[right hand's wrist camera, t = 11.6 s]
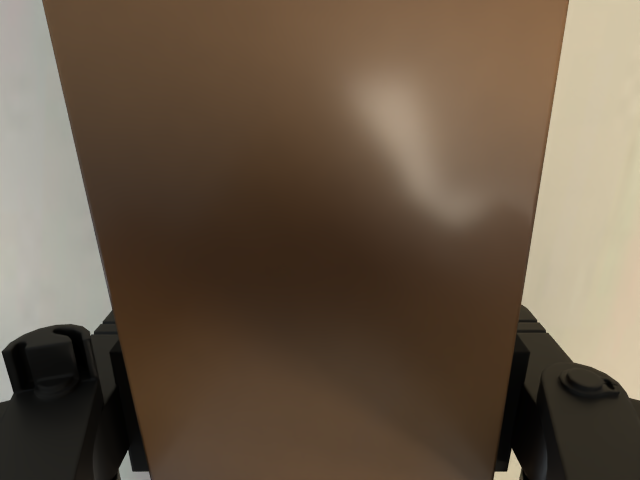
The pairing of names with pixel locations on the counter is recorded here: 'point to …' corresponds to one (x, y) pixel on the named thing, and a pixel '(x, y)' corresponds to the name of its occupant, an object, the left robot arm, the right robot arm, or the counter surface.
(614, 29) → the counter surface
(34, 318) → the counter surface
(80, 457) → the right robot arm
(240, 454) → the post
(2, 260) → the counter surface
